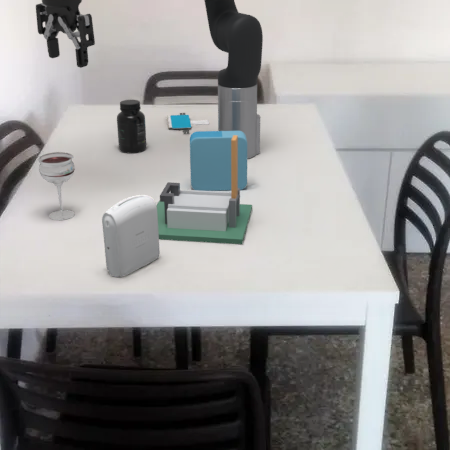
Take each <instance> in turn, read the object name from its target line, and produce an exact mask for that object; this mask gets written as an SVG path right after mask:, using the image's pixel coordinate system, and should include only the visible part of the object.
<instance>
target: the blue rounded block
mask: <svg viewBox="0 0 450 450" xmlns="http://www.w3.org/2000/svg"><path fill="white" fill-rule="evenodd" d="M190 134H191V135H190V136H189V163H190V165H189V166H190V167H189V168H190V169H189V170H190V187H191V188H192V190H200V191H220V192H227V191H231V140H232V137H233V135H238V188H240V191H242V190H244V189H246V187H247V185H248V158H247V139H246V136H245V134H244V133H243V132H242V131H218V130H213V131H212V130H209V131H208V130H206V131H201V130H200V131H194V132H192V133H190Z"/></svg>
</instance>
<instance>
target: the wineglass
mask: <svg viewBox="0 0 450 450" xmlns="http://www.w3.org/2000/svg"><path fill="white" fill-rule="evenodd" d="M73 158H74V155H73V154H71V153H69V152H65V151H54V152H49V153H45V154H41V155H40V156H38V158H37V161H38V162H39V164H38V171H39V172H38V173H39V175H40V177H41V178H42V179H43V180H45V181H46V182H47V183H49V184H52V185H54V186H56V191H57V197H58V204H59V210H56V211H53V212H51V213H49V215H48V217H49V219H51V220H54V221H64V220H69V219H71V218H73V217H74V216H75V215H76V214H75V212H74V211H72V210H69V209H63V199H62V185H63V184H64V183H66V182H68V181H69V180H70V179H71V178H72V177H73V175H74V174H75V170H76V168H75V164H74V161H73Z"/></svg>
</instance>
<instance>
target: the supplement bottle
mask: <svg viewBox="0 0 450 450" xmlns="http://www.w3.org/2000/svg"><path fill="white" fill-rule="evenodd" d="M119 110H120V112H119V113H118V114H117V115H116V125H117V140H118V141H117V142H118V148H119V149H118V150H119V151H120V152H121V153H124V154H138V153H142V152H144V151H146V149H147V129H146V127H147V126H146V115H145V114H144V113H143V112H142V111H140V110H141V102H140V100H138V99H125V100H121V101H120V102H119Z"/></svg>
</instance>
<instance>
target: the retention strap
mask: <svg viewBox="0 0 450 450" xmlns="http://www.w3.org/2000/svg"><path fill="white" fill-rule="evenodd" d="M230 192H231V198H234V199H236V203H237V200H238V197H239V195H238V135H233V137H232V140H231V190H230Z"/></svg>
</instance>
